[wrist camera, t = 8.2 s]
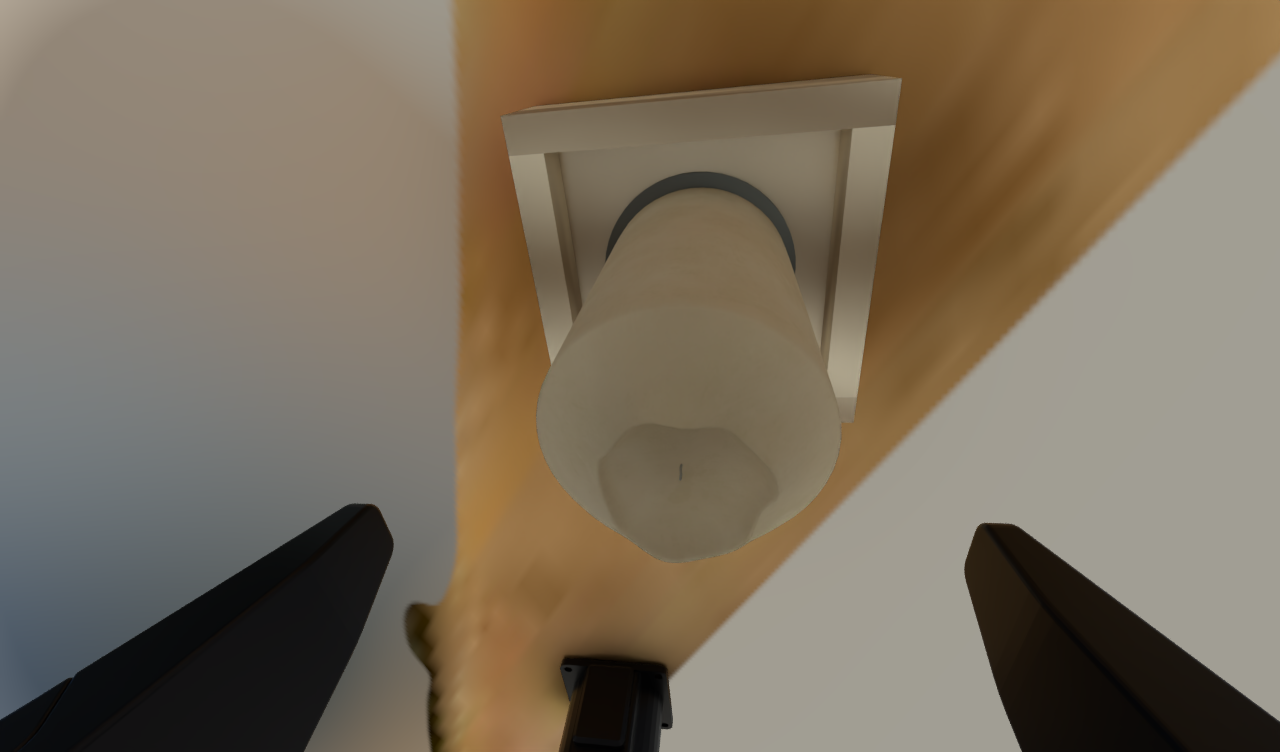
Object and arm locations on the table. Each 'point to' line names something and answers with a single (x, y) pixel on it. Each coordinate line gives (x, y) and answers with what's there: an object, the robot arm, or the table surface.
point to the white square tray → (722, 159)
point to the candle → (692, 384)
